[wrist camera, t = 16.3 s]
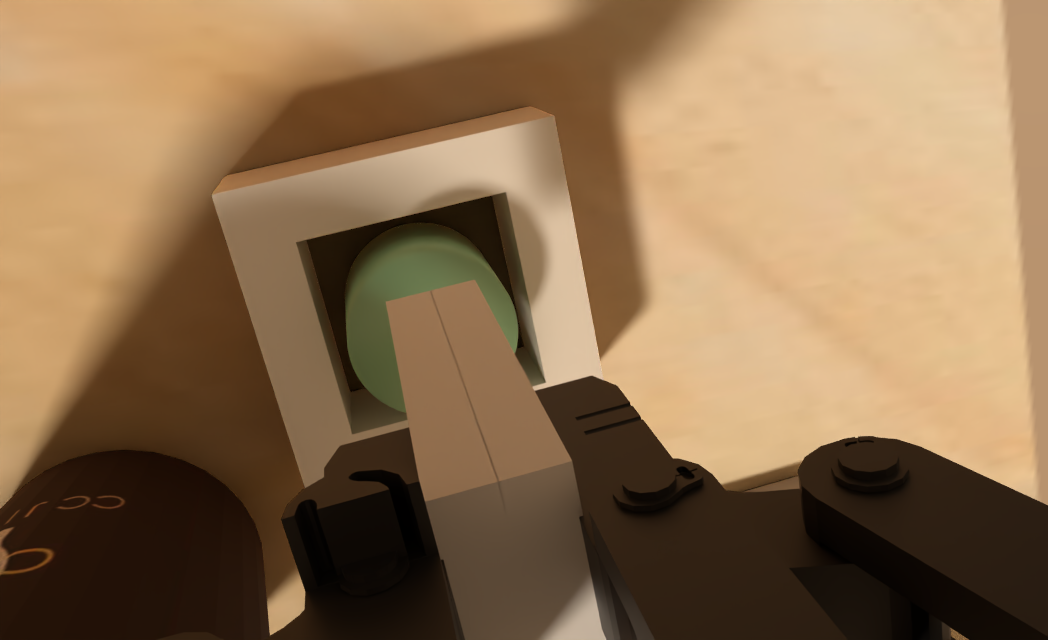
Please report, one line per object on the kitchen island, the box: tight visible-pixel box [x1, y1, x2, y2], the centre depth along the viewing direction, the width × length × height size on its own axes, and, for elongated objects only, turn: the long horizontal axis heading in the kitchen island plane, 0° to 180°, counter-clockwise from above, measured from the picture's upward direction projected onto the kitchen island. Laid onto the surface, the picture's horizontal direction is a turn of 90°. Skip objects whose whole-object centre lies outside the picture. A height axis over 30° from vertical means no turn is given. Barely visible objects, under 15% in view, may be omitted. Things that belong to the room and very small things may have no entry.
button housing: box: [211, 106, 604, 488], centre depth 21 cm, size 7×7×2 cm
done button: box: [345, 222, 518, 413], centre depth 20 cm, size 3×3×3 cm
